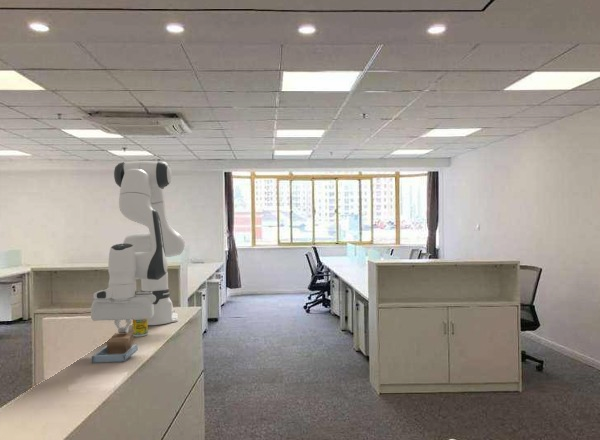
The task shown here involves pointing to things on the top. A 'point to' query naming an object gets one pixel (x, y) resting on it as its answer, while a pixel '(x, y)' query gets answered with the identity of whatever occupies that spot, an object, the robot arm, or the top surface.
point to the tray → (113, 355)
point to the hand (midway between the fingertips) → (123, 332)
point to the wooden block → (120, 343)
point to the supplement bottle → (140, 327)
